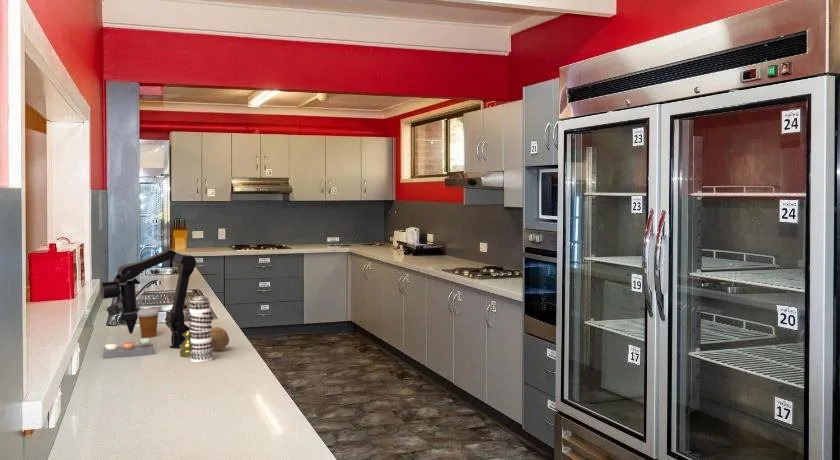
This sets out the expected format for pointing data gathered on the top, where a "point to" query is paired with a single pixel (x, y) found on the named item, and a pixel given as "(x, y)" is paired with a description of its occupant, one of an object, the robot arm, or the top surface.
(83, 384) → the top surface
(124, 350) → the button panel
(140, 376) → the top surface
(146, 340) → the sage button
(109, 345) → the cream button
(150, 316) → the disposable coffee cup
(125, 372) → the top surface
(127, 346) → the terracotta button
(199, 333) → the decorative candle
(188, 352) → the gold metal figurine
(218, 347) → the brown rounded lump
